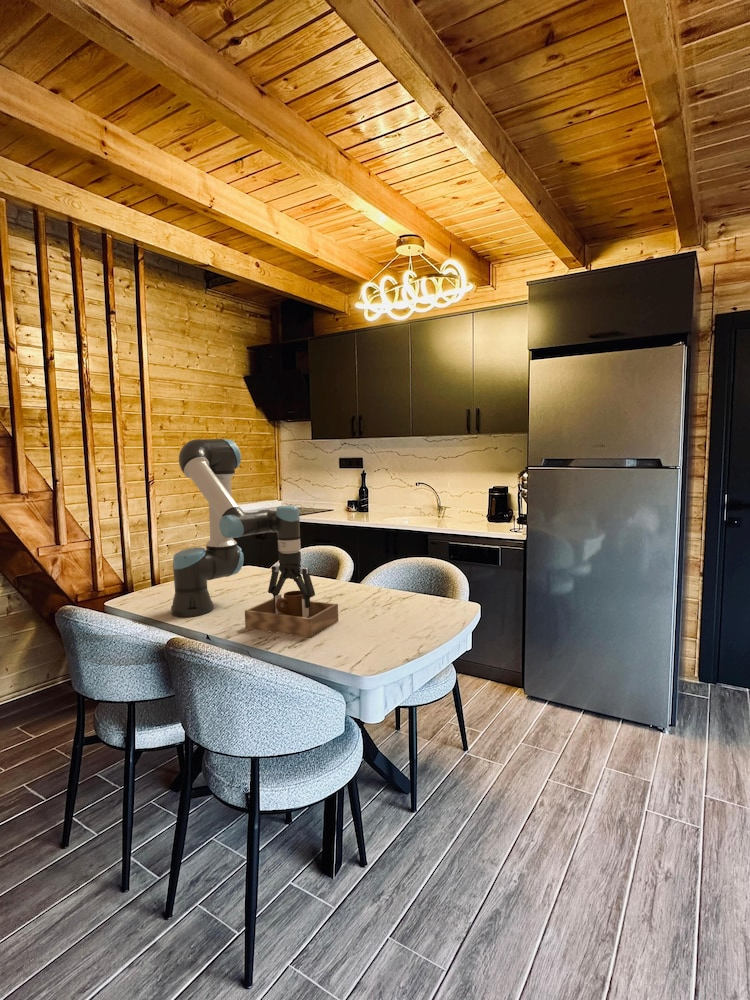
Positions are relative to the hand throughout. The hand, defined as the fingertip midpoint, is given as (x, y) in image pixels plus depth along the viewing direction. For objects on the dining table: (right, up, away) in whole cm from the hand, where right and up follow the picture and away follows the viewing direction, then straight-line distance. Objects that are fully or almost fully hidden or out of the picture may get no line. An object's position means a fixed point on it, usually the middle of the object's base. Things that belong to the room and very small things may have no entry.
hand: (292, 615), depth 185 cm
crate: (0, -3, 0) cm, 3 cm away
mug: (-1, -3, +1) cm, 3 cm away
